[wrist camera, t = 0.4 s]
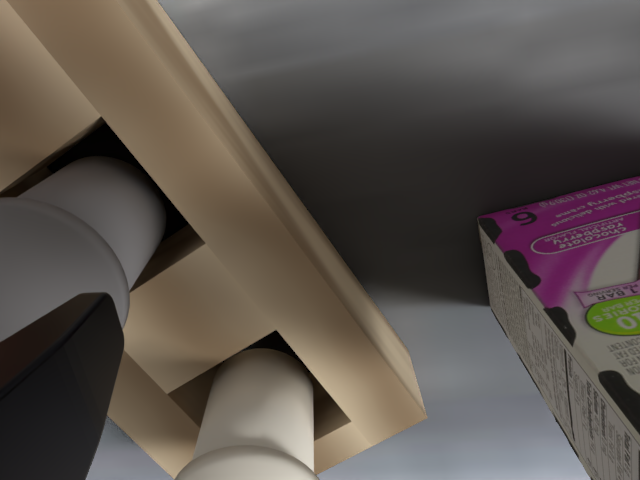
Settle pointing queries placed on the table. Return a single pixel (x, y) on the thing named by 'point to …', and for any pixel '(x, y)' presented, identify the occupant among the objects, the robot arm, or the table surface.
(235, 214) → the socket block
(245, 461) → the white plug
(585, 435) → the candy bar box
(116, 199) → the grey rounded piece
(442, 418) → the table surface
